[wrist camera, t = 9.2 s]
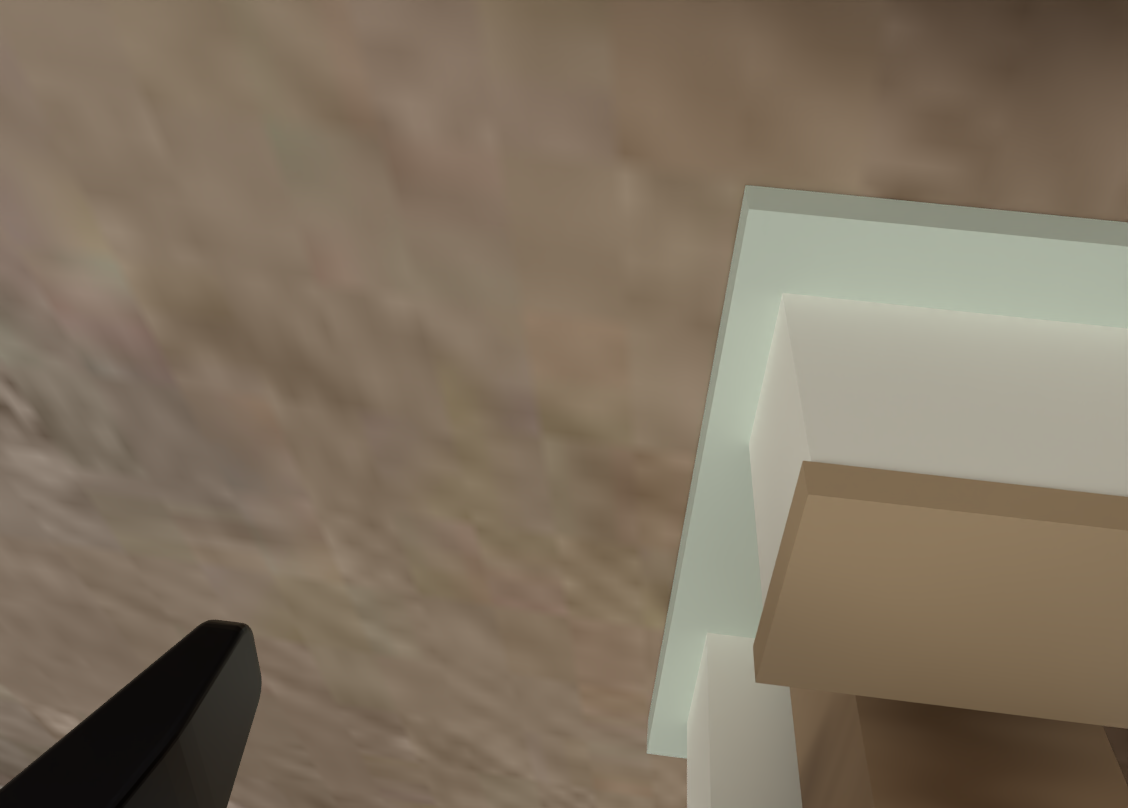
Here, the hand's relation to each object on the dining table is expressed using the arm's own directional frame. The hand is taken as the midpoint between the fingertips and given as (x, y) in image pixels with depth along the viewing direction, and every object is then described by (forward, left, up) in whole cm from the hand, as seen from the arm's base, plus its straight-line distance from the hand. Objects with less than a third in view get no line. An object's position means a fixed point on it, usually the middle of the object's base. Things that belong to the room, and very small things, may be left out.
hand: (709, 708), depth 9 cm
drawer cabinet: (-6, +9, -13) cm, 17 cm away
